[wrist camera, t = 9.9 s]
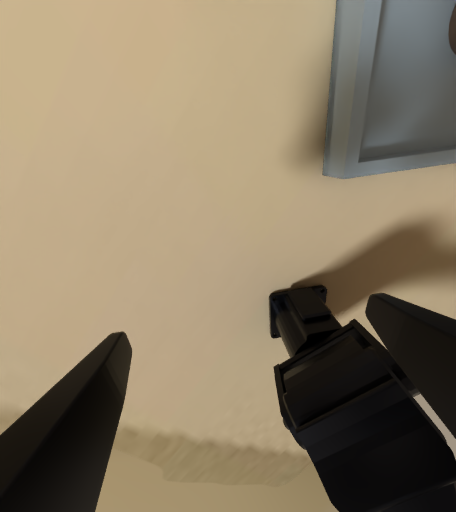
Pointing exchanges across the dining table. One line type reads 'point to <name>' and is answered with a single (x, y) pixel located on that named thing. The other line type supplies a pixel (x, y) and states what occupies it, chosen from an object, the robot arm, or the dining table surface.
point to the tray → (390, 88)
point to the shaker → (452, 31)
